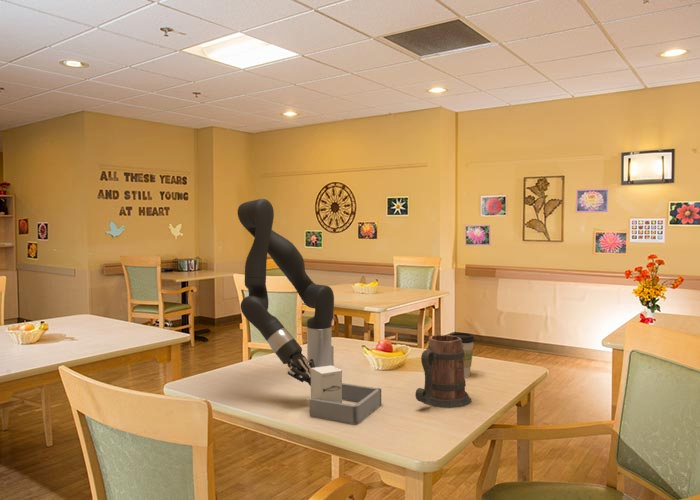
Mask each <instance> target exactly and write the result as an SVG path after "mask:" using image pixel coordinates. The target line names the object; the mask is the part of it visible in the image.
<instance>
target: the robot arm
mask: <svg viewBox="0 0 700 500" xmlns="http://www.w3.org/2000/svg"><path fill="white" fill-rule="evenodd" d="M274 214H275V212H274V207H273V205H272V203H271V201H269V200H268V199H265V198H259V199H254V200H249V201H246V202H243V203H241V204H240V205H239V206H238V208H237V217H238V220H239V222H240V223H241V225H242V226H243V228H245V230H246V231H247V232H249V234H250V235H251V236H252V237H254V239H253V242H252V245H251V247H250V249H249V252H248V253H247V254H248V255H247V256H246V260H245V264H244V286H245V288H246V289H247V290H248V296H247V295H246V296H245V297H244V298H243V299H242V301H241V302H240V311H241V313H242V314H243V316H244V317H245V319H246V320H248V322H249V323H250V324H251V325H253V327H255V329H257V330H258V331H259V332H260V334H261V335H262V337H263V338H264V340H265V341H266V342H267V343H268V345H269V346H270V348H271V350H272V351H273V352H274V354H275V355H276V356H277V358H278V359H279V361H281V363H282V364H283V365H287V367H288V368H289V370H288V371H287V375H289V376H290V377H292V378H294V379H295V380H297V381H299V382H301V383H303V382H305V383H307V384H308V385H309V386H310V387H311V368H315V367H323V366H330V365H332V366H334V367H335V363H334V361H335V359H334V356H335V355H334V353H335V352H334V351H335V350H334V348H335V347H334V346H333V345H332V322H333V319H334V313H335V312H334V311H335V310H334V309H335V295H334V291H333V288H331V287H330V286H328V285H325V284H317V283H315V282H314V281H312V279H311V278H310V276H309V275H308V273H307V272H306V269H305V268H306V267H305V260H304V257H303V256H302V254H301V253H300V251H299V249H298V248H297V247H296V245H294V243H293V242H291V241H290V240H288V238H286V237H284V236H283V235H280V234H279V233H278V232H276V231H274V230H273V223H274V219H275V218H274V217H275V215H274ZM268 255H269V257H270V258H271V259H272V260H273V262H274V263H275V265H276V266H277V267H278V269H279V270H280V271H281V272H282V274H284V277H286V278H287V280H288V281H289V283H291V285H292V286H293V287H294V289H295V291H296V292H297V295H299V297H300V299H301V301H302V303H304V305H305V306H306V307H308V308H311V309H314V315H313V316H312V317H310V318H308V319H307V322H306V339H307V340H306V348H307V349H306V351H307V352H306V353H307V354H306V356H305V355H303V354H302V352H303V347H301V345H300V344H299V343H298V342H297V340H296V339H295V338H294V337H293V335H292V333H290V331H288V330H287V329H286V328H285V326H284V325H283V324H282V322H281V321H280V320H279V319H278V318H277V317H276V316H275V315H272V313H270V312H269V311H268V310H269V295H268V289H267V285H266V284H267V260H268Z"/></svg>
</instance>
